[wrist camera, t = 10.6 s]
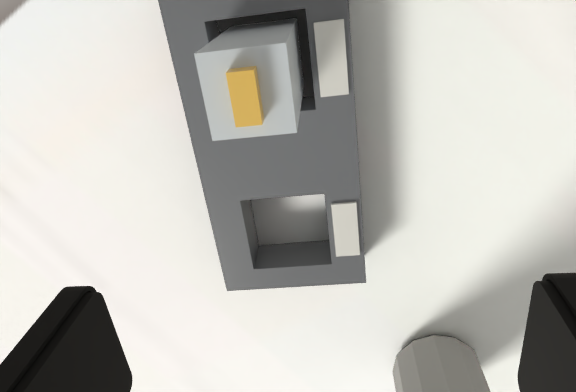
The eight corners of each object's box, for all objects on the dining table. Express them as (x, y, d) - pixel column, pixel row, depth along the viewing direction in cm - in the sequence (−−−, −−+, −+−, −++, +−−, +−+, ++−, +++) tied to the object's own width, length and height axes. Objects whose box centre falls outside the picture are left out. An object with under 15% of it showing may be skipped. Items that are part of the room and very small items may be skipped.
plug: (296, 17, 27) (284, 45, 18) (304, 84, 29) (296, 139, 20) (231, 26, 28) (189, 57, 19) (242, 91, 29) (208, 147, 21)
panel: (343, -36, 26) (346, -35, 23) (362, 257, 35) (366, 284, 32) (172, -12, 27) (154, -8, 24) (234, 266, 36) (226, 292, 33)
